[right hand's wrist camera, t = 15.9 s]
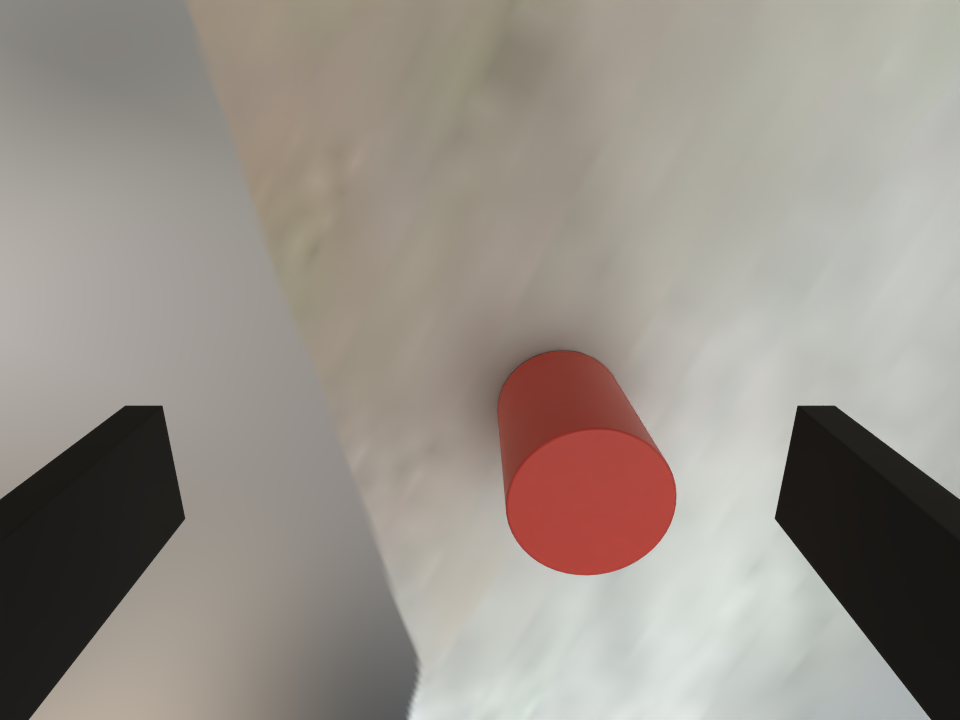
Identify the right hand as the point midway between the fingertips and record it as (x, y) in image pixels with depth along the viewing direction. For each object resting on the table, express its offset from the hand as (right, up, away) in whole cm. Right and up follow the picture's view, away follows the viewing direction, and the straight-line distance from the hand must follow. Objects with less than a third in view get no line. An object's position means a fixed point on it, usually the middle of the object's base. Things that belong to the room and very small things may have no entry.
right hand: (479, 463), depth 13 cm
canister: (+4, 0, +14) cm, 15 cm away
